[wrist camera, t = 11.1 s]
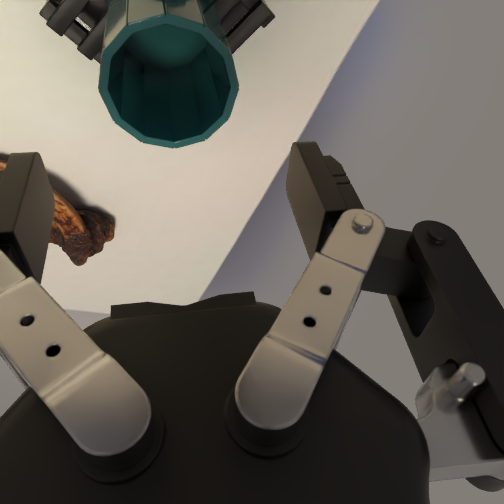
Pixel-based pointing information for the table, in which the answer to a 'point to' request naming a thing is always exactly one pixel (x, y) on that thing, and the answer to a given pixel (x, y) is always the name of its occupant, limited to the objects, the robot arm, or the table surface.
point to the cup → (167, 70)
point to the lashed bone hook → (77, 229)
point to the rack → (95, 13)
